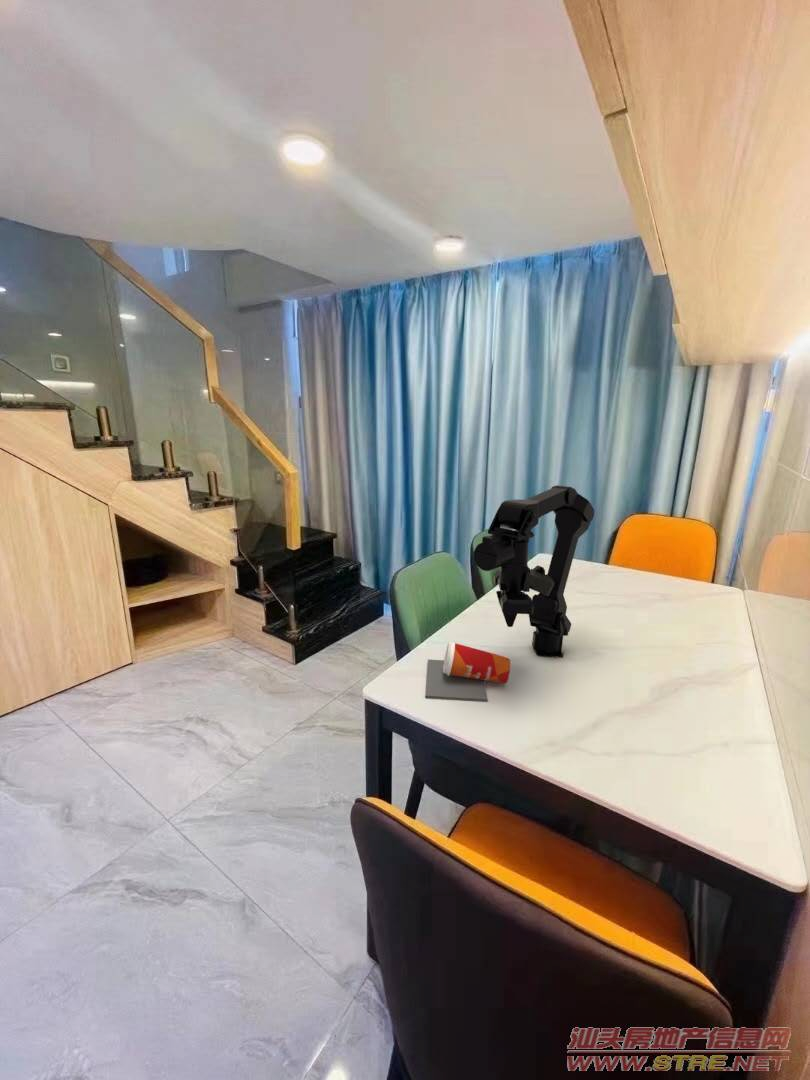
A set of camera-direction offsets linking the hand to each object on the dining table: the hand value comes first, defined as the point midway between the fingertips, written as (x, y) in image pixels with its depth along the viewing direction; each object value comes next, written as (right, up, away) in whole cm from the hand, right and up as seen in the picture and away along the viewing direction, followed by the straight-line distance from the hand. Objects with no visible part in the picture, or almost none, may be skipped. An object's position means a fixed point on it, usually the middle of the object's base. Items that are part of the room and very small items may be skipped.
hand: (509, 626), depth 99 cm
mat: (-12, -12, +1) cm, 17 cm away
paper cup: (0, -10, 0) cm, 10 cm away
